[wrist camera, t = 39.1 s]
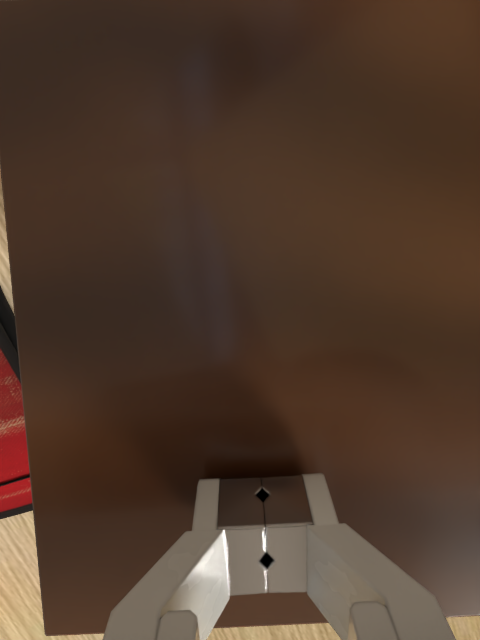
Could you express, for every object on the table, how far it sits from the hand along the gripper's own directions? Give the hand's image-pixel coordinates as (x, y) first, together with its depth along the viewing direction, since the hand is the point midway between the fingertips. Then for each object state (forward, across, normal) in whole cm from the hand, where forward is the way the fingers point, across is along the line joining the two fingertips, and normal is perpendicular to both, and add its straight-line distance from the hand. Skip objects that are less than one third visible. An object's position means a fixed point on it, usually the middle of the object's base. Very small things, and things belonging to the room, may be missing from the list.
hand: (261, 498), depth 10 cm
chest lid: (+2, 0, -4) cm, 4 cm away
